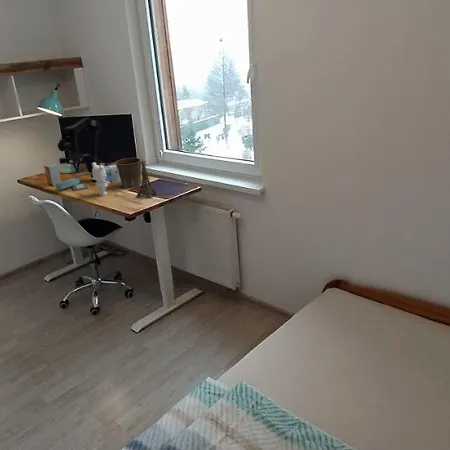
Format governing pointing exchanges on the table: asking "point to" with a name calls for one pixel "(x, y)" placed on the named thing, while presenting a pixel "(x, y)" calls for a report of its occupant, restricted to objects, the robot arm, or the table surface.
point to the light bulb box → (112, 174)
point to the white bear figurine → (100, 178)
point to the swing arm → (68, 183)
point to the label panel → (80, 187)
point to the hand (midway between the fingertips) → (77, 172)
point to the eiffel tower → (145, 184)
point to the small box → (52, 174)
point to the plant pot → (129, 172)
